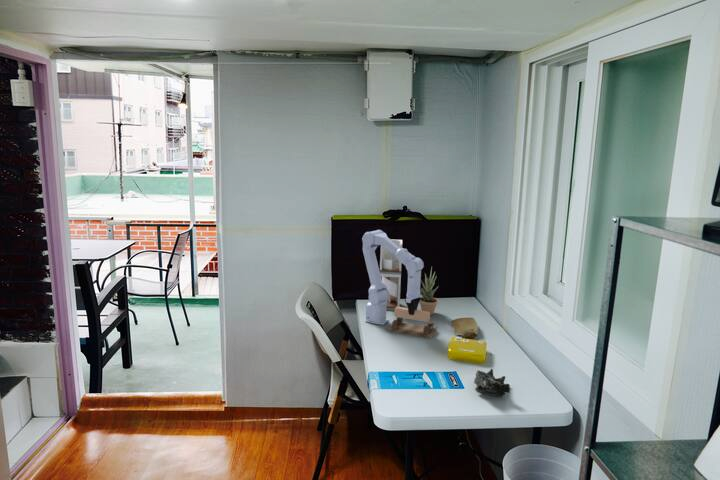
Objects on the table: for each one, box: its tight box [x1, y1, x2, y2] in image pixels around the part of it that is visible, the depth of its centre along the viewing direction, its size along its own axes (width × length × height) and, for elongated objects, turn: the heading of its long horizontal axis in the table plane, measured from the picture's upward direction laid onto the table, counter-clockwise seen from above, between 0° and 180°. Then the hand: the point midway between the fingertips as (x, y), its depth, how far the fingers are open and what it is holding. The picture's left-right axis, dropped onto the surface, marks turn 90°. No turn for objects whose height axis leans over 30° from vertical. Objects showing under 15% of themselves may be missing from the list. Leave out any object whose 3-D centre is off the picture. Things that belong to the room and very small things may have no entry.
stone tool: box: [450, 316, 480, 340], centre depth 230 cm, size 12×4×25 cm
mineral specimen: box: [473, 368, 511, 397], centre depth 174 cm, size 15×13×10 cm
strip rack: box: [387, 317, 437, 339], centre depth 229 cm, size 20×10×4 cm, turn 66°
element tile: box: [447, 337, 488, 365], centre depth 205 cm, size 15×15×5 cm
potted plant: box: [419, 266, 439, 316], centre depth 251 cm, size 10×10×25 cm
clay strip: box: [394, 306, 431, 323], centre depth 227 cm, size 16×2×4 cm, turn 66°
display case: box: [379, 238, 403, 311], centre depth 258 cm, size 11×11×35 cm
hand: (412, 313), depth 226 cm, fingers closed on clay strip, 2 cm apart
